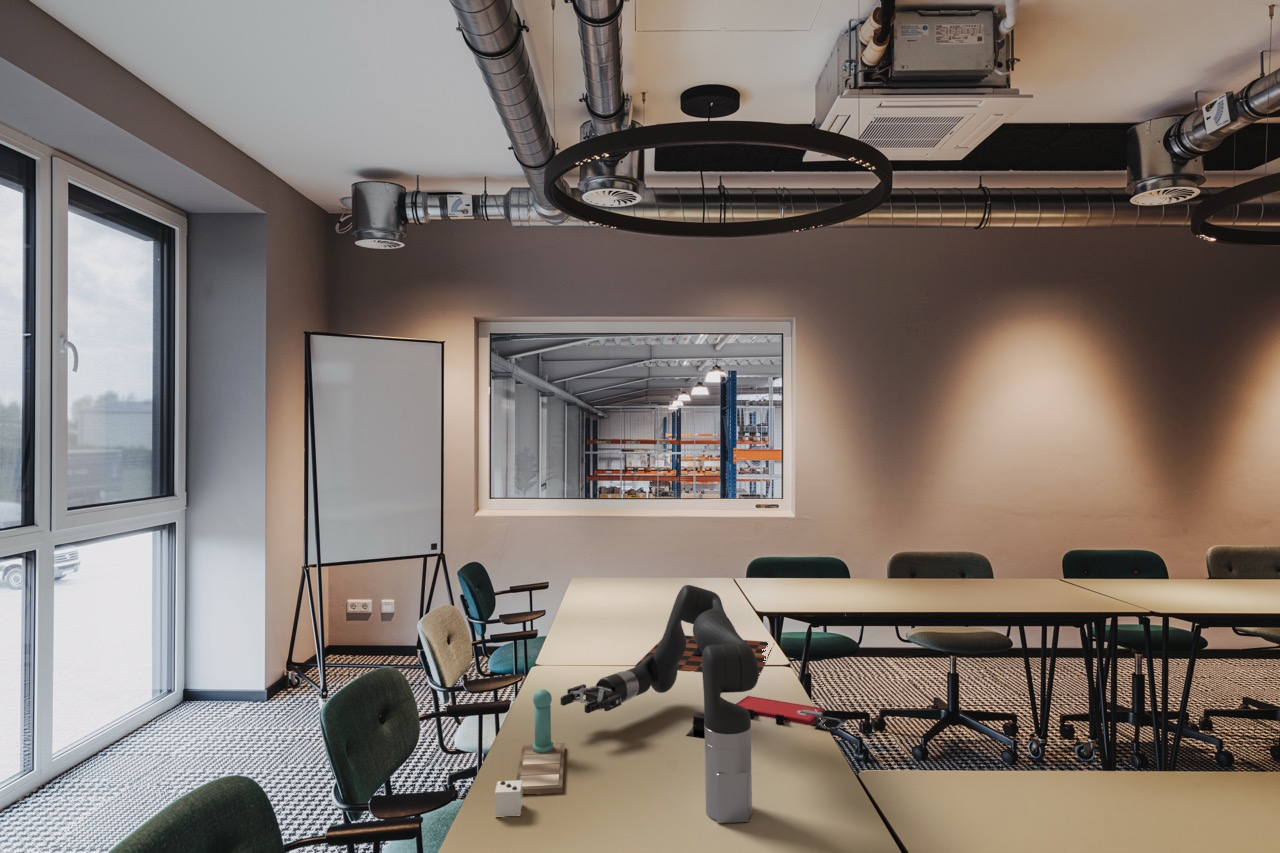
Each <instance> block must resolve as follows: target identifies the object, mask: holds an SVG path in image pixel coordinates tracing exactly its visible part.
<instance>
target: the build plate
mask: <svg viewBox="0 0 1280 853" xmlns="http://www.w3.org/2000/svg"><path fill="white" fill-rule="evenodd" d="M692 718H693V720H692V727H691V728H690V730H689V731H688V733H686V734H685V737H691V738H696V739H703V740H705V725H704V712H701V711H700V712H699V711H696V713H695V714H694V716H692Z"/></svg>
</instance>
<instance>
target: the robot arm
mask: <svg viewBox="0 0 1280 853" xmlns="http://www.w3.org/2000/svg"><path fill="white" fill-rule="evenodd" d="M682 622H684V623H687V624H691V625H692V626H693V627H692V636H694V639H695V641H696V643H697V646H698V647H699V649H700V650H701V652H702V653H703V654H702V672H701V673H702V685H703V687H702V688H703V705H704V706H703V710H704V711H703V713H704V725H705V739H704V773H705V774H704V777H705V778H704V780H705V781H704V784H705V791H704V792H705V812H706V815H707V817H708V816H709V818H711V819H713V820H715V821H716V824H734V823H748V822H750V819H749V818H750V817H751V816H752V815H753V791H752V786H753V785H752V784H753V783H752V780H753V779H752V725H751V724H752V721H751V717H750V713H749V711H748V710H747V709H746V708H744V707H742V706H740V705H737V704H736V703H733V702H731V701H728V700H726V699H724V698H723V697H722V696H721V694H724V693H726V694H727V693H728V694H729V693H745V692H748V691H751V690H752V689H754V688H755V687H756V686H757V683H758V681H759V677H760V676H759V668H758V663H757V659H756V656H755V654H754V652H753V650H752V649H751V647H750V646H749V645H748V644H747V643H746V642H745V641H744V640H745V639H743V638H742V637H741V636H740V635H739V633H738V632H737V631H736V629H735V626H734V624H733V623H732V621H731V620H730V619H729V617H728V616H727V613H726V611H725V609H724V606H723V603H722V599H721V597H720V596H719V595H718V594H717V593H716V592H715V591H713V590H708V589H705V588H701V587H699V586H695V585H692V584H691V585H690V584H686V585H683V586H682V587H681V589H679V591H678V594H677V595H676V598H675V600H674V603H673V607H672V609H671V613H670V615H669V617H668V620H667V624H666V627H665V629H664V632H663V636H662V638H661V639H660V640H659V642H660V643H659V642H658V643H659V645H658V647H657V649H656V651H655V653H654V654H651V655H649V656H648V657H646V658H645V659H644V660H643V661H642V662H641V663H640V664H639V665H637V666H636V667H632V668H630V669H627V670H624V671H619V672H616V673H613V674H611V675H610V674H609V675H607V676H605V677H602V678H600V679H599V680H598V681H597V682H596V684H595V685H594V686H590V687H587V685H586V684H584V683H583V684H580V685H577V686H574V687H571V688H568V689H567V690H566V691H567V693H566V694H564V695H561V697H560V698H559V699H560V700H559V701H560V706H563V707H564V706H567V705H569V704H573V703H575V702H577V703H578V702H579V703H580V704H584V713H585V714H590V713H593V712H595V711H602V710H603V711H604V712H609V711H611V710H613V709H615V708H618V707H620V706H622V704H623V703H625V702H628V701H629V700H632V699H633V698H634V697H635V698H636V697H637V696H640V695H642V694H644V693H646V692H647V691H649V689H651V688H652V689H653V690H654V691H655V692H657V693H658V694H662V693H663V694H664V693H666V692H669V691H670V690H671V689H672V688H673V686H674V684H675V683H676V680H677V676H678V663H679V661H680V660H681V658H682V656H683V654H684V652H685V650H686V637H685V635H686V634H685V632H684V629H683V625H682ZM650 687H651V688H650ZM584 696H585V699H584Z"/></svg>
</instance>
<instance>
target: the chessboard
mask: <svg viewBox="0 0 1280 853" xmlns="http://www.w3.org/2000/svg"><path fill="white" fill-rule="evenodd" d="M685 637H686V650H685V652H684V654H683V656H682V658H681V660H680V661H679V663H678V670H679V671H681V672H691V671H694V673H702V654H703V653H702V652H701V650H700V649H699V647H698V646H697V643H696V641H695V639H694V636H693V635H686V634H685ZM743 640H744V641H745V642H746V643H747V644H748V645H749V646H750V647H751V649H752V650H753V652H754V654H755V656H756V659H757V663H758V668H759V673H761V674H762V671H763V670H764V667H765V664H766V663H765V662H763V661H766V660H764V658H765V659H766V656H764V655H762V653H763V652H765V651H766V650H765V651H764V650H763V651H762V649H765V648H766V646H767V645H768V643H767V642H768V641H761V640H748V639H743ZM659 643H660V641H659V642H657V643H656V644H655V645H654V646H653V648H651V649H650V650H649V651H648V652H647V653H646V654H645V655H644V656H643V657H642V658H641V659H640V660H639V661H638V662H637V663H636V664H635V665H634V666H635V667H636V666H637V665H639V664H640V663H641V662H642V661H643V660H644V659H645V658H646V657H648V656H649V655H651V654H654V653H655V651H656V649H657V647H658V645H659ZM767 647H768V646H767ZM766 662H767V661H766ZM761 674H759V677H760V675H761Z"/></svg>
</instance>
